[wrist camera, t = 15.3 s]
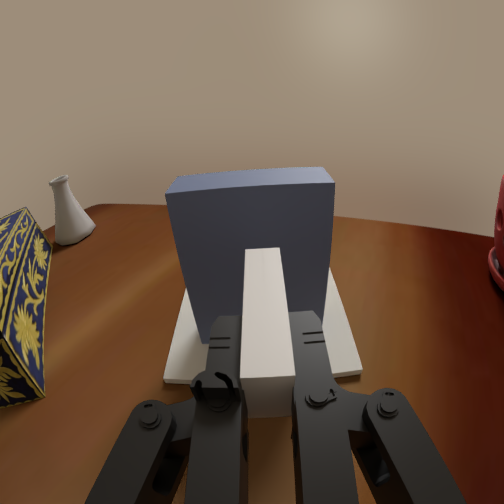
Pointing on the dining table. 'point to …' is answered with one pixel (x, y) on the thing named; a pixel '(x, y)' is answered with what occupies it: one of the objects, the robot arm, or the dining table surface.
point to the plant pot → (498, 242)
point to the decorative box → (22, 307)
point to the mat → (195, 353)
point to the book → (252, 235)
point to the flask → (69, 214)
